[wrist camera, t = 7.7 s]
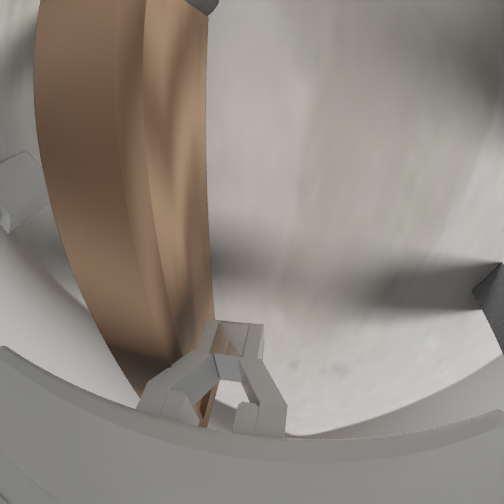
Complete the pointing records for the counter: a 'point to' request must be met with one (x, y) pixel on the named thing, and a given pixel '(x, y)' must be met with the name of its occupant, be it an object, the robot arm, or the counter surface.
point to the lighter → (21, 190)
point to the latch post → (493, 302)
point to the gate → (130, 170)
